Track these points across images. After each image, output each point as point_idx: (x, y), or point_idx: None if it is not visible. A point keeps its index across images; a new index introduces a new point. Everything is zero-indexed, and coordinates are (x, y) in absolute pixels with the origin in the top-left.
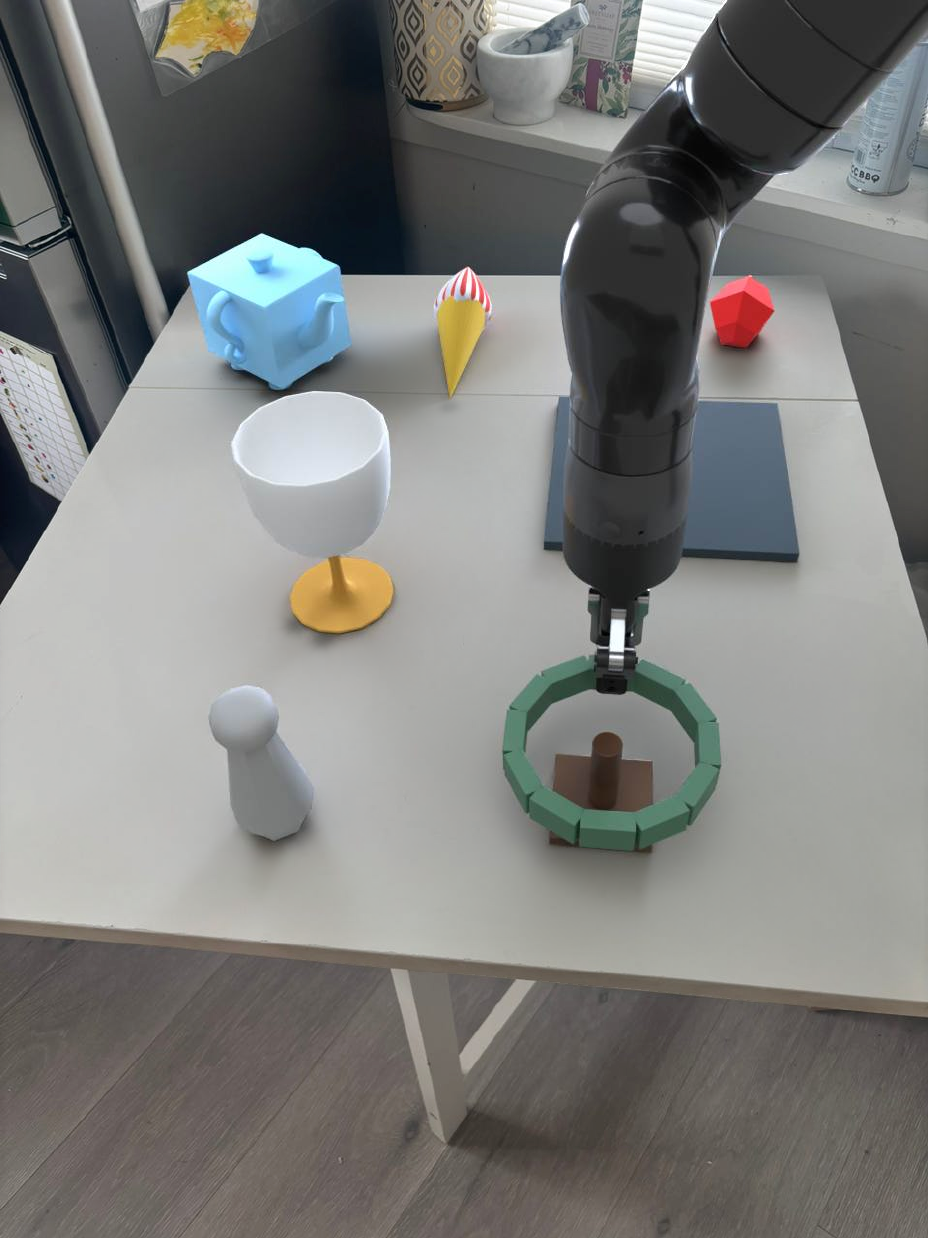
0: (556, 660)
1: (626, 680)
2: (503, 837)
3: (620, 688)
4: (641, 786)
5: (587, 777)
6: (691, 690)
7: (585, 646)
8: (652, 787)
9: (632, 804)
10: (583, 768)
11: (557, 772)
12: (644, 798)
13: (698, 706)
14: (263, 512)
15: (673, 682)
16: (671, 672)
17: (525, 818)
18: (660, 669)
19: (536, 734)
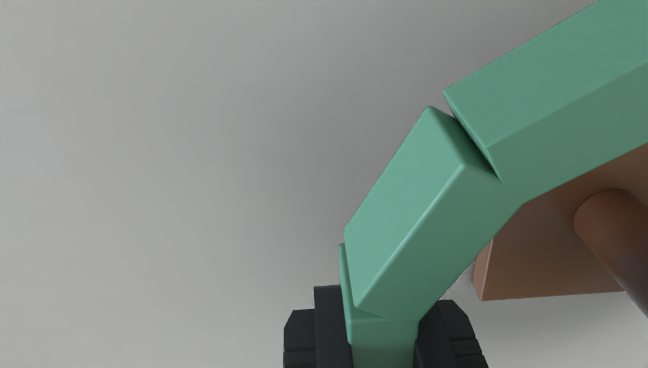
0: (210, 309)
1: (442, 327)
2: (621, 328)
3: (473, 336)
4: None
5: (547, 246)
6: (533, 138)
7: (151, 266)
8: None
9: (636, 156)
10: (524, 255)
11: (528, 294)
12: None
13: (633, 106)
14: None
15: (479, 206)
16: (425, 216)
17: (590, 307)
18: (411, 254)
19: None
